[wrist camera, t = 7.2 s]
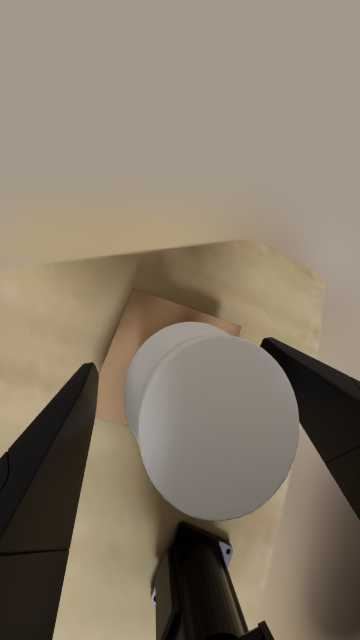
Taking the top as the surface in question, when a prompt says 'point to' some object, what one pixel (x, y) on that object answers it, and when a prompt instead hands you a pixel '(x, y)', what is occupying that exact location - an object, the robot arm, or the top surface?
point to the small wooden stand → (134, 329)
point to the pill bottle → (211, 420)
